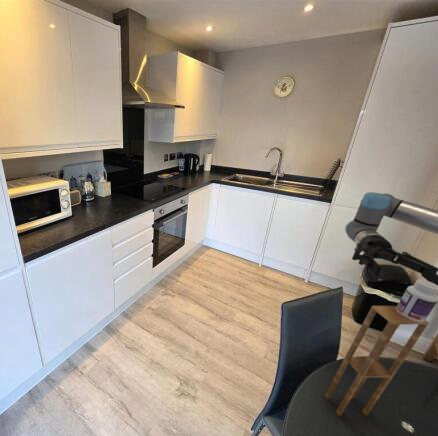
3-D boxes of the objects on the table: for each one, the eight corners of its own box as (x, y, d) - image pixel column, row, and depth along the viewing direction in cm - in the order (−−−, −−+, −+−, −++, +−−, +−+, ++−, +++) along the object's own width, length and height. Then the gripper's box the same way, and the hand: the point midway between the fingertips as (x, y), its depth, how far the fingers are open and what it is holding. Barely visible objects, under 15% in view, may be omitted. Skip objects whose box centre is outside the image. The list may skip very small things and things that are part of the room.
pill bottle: (428, 320, 62) (449, 288, 58) (417, 325, 60) (438, 293, 56) (401, 305, 66) (419, 275, 62) (390, 309, 64) (408, 279, 60)
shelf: (404, 307, 66) (405, 306, 66) (428, 324, 61) (429, 322, 61) (371, 307, 66) (372, 305, 65) (392, 324, 60) (393, 322, 60)
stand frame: (351, 395, 81) (404, 307, 66) (367, 415, 75) (428, 324, 61) (324, 396, 80) (371, 307, 66) (337, 416, 75) (392, 324, 60)
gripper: (412, 262, 83) (461, 301, 64) (327, 245, 90) (349, 277, 72) (423, 242, 80) (477, 278, 61) (335, 227, 87) (359, 255, 69)
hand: (408, 278), depth 67 cm, fingers open, 13 cm apart
